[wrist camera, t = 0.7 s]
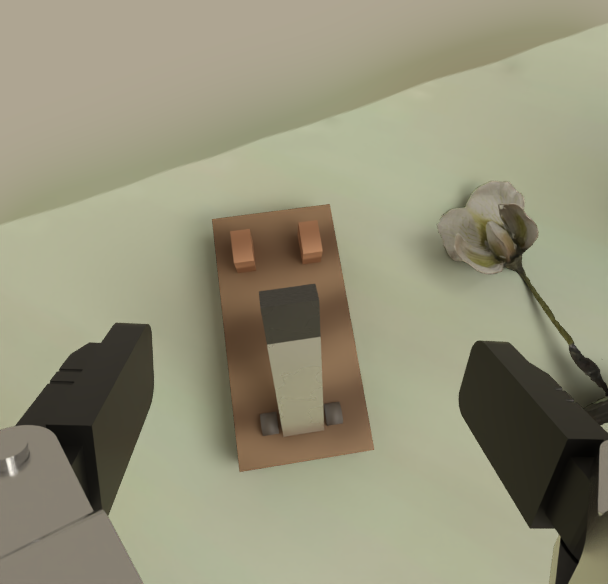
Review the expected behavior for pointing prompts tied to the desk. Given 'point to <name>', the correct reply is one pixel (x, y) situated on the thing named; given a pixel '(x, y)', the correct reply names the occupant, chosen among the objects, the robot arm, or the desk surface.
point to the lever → (295, 355)
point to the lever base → (252, 342)
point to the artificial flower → (506, 254)
